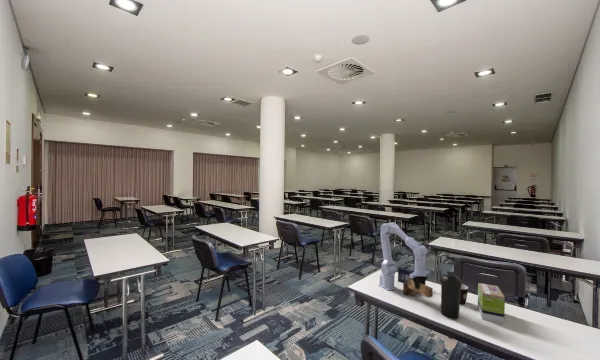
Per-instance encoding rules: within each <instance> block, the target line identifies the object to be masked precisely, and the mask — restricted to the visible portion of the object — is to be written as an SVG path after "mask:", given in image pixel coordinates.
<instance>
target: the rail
mask: <svg viewBox="0 0 600 360" xmlns="http://www.w3.org/2000/svg"><path fill="white" fill-rule="evenodd" d="M407 287H408V288H410V289H412V290H414V291H416V292H415V293H417V292H418V294H419V293H420V294H419V295H422V296H424V297H426V298H433V290H434V289H433V287H431V286H428V285H426V284H425V285H424V284H422V283H420V285H419V289H417V288H415V284H414V281H413V279H411V278H409V279H407Z"/></svg>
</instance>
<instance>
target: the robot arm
mask: <svg viewBox="0 0 600 360" xmlns="http://www.w3.org/2000/svg"><path fill="white" fill-rule="evenodd" d="M392 234H395V235H396V236H398V237H399V238H401V239H402V240H403V241H404V243H405V245H406V246H407V247H408V248H410V249H411V250H412V252H413V254H414V271H415V272H413V273H412V274H410V278H412V279H413V281H414V284H415V288H417V289H419V285H420V283H422V284H425V285H426V281H427V280H428V276H430V271H429V270H426V255H427V254H428V251H429V250H428V248H427V247H426V246H425V245H423V244H421V243H419V242H418V241H417V240H415V237H413V236H412V237H411V236H408V235H407V234H406V233H405V231H403V230H402V229H401V228H400V227H399V225H398V224H396V222H393V221H391V222H387V223H386V222H385V223H382V224H381V226H380V234H379V235H380V242H381V249H382V257H383V261H382V263H381V264H380V265H381V267H380V271H381V273H380V274H379V284H378V286H379V287H381V288H383V289H384V290H387V291H392V290H397V289H398V287H396V286H395V275H396V273H398V267H397V264H396V261H394V260H393V257H392V256H393V255H392V248H391V243H390V236H391V235H392Z"/></svg>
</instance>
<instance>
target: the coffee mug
mask: <svg viewBox="0 0 600 360" xmlns="http://www.w3.org/2000/svg"><path fill="white" fill-rule="evenodd" d="M468 292H469V286H467V285H466V284H464V283H462V286H461V294H460V306H465V305H466V303H467V297H468Z"/></svg>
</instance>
